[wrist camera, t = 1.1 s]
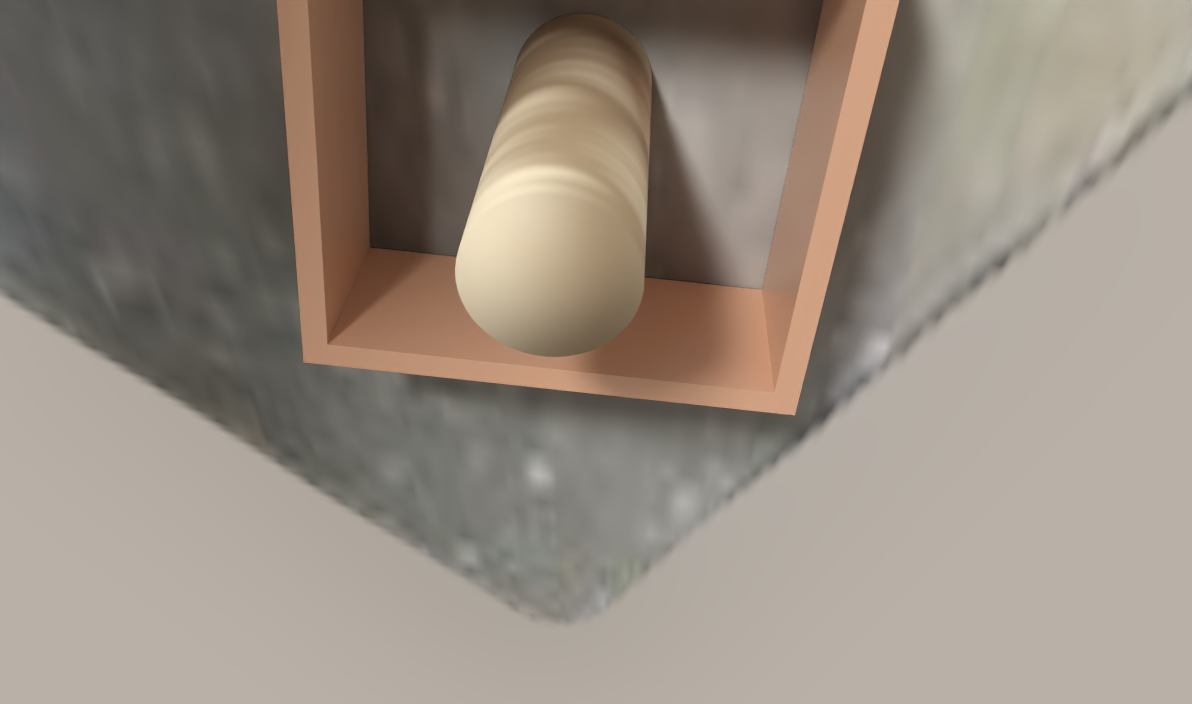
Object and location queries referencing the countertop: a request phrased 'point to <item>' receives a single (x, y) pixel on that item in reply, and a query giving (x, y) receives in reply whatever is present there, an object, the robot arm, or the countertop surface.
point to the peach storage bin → (668, 308)
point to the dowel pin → (563, 194)
